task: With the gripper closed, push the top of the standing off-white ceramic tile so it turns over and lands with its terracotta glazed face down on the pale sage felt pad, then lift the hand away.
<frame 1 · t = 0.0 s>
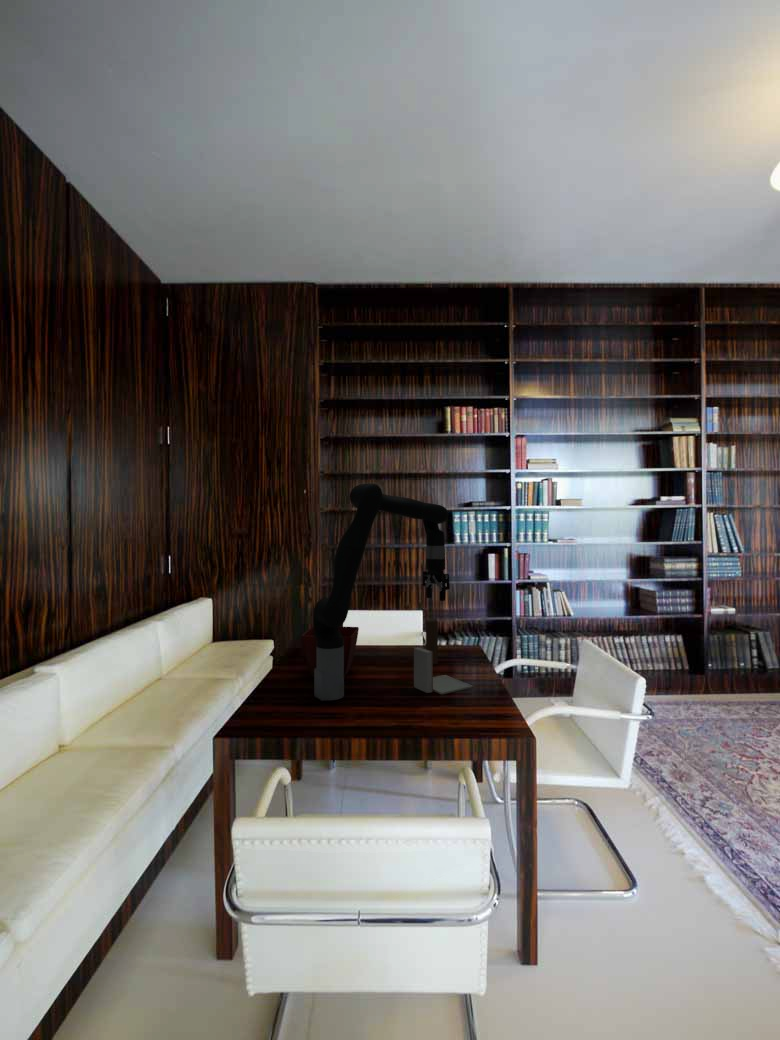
hand: (435, 599, 205), 29 cm above the table, tool pointing down, fingers open, 8 cm apart
felt pad: (443, 685, 193), on the table
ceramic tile: (423, 689, 189), on the table
plant pot: (331, 674, 208), on the table
wooden block: (426, 663, 223), on the table
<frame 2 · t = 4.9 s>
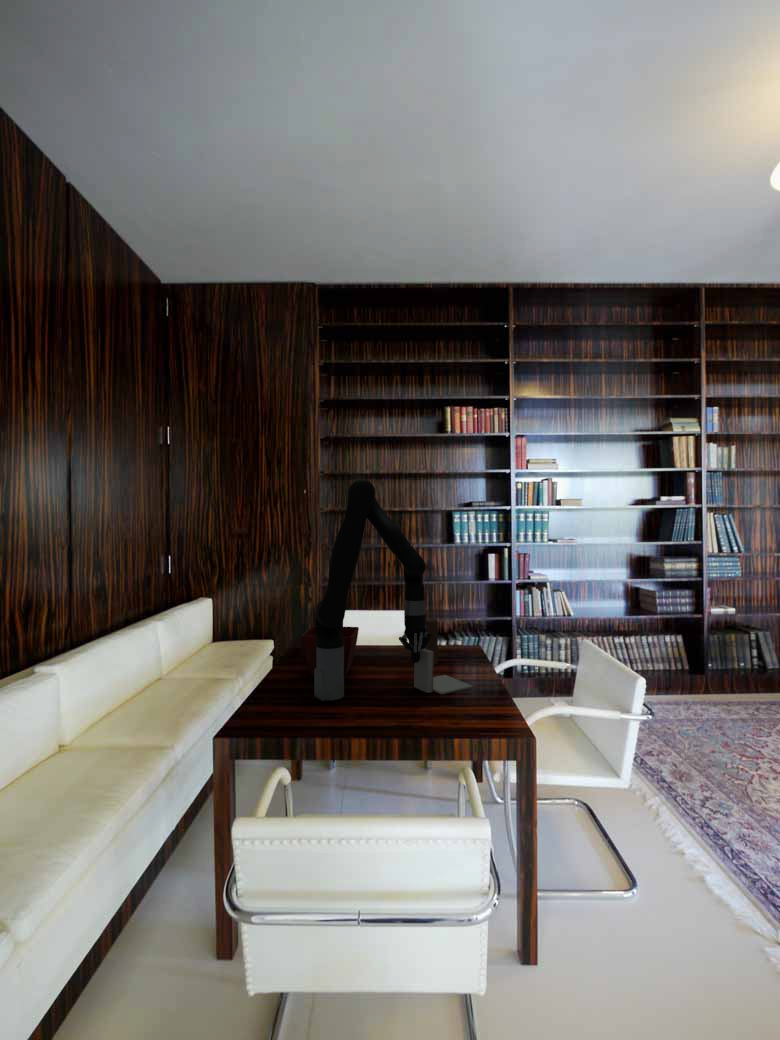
hand: (415, 662, 187), 10 cm above the table, tool pointing down, fingers closed
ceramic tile: (423, 689, 189), on the table, touching gripper
everything else where it was.
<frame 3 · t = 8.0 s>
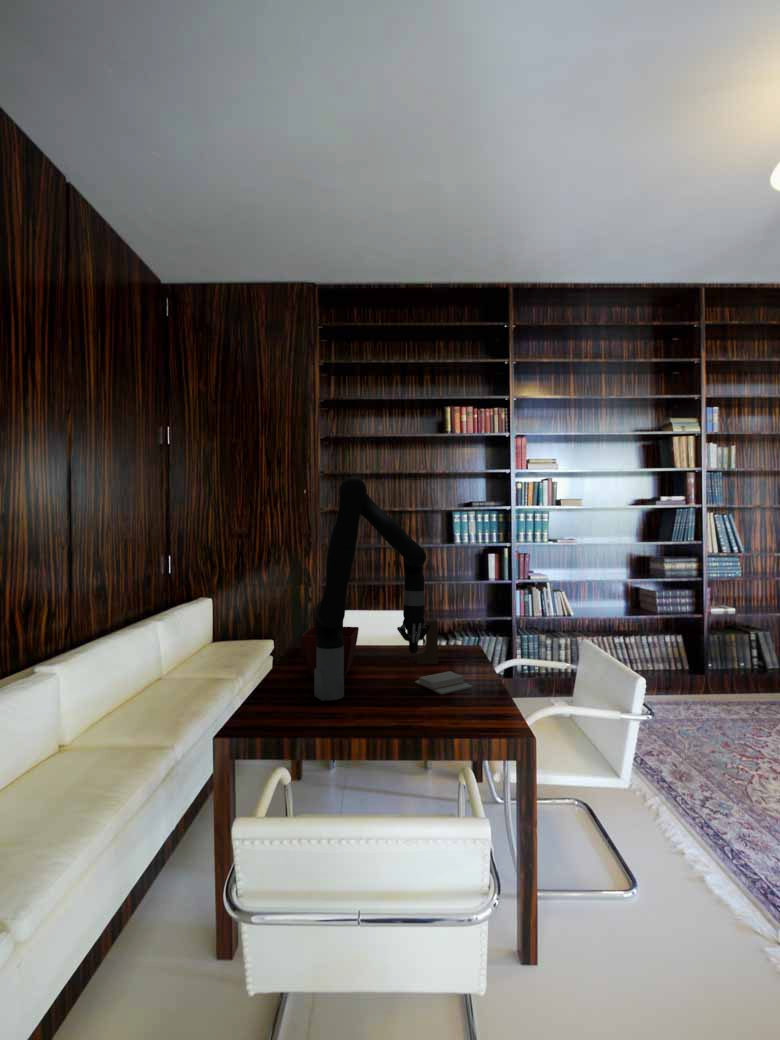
hand: (413, 652, 186), 14 cm above the table, tool pointing down, fingers closed
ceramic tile: (425, 683, 189), point 2 cm above the table, tilted 90°, touching felt pad
everything else where it was.
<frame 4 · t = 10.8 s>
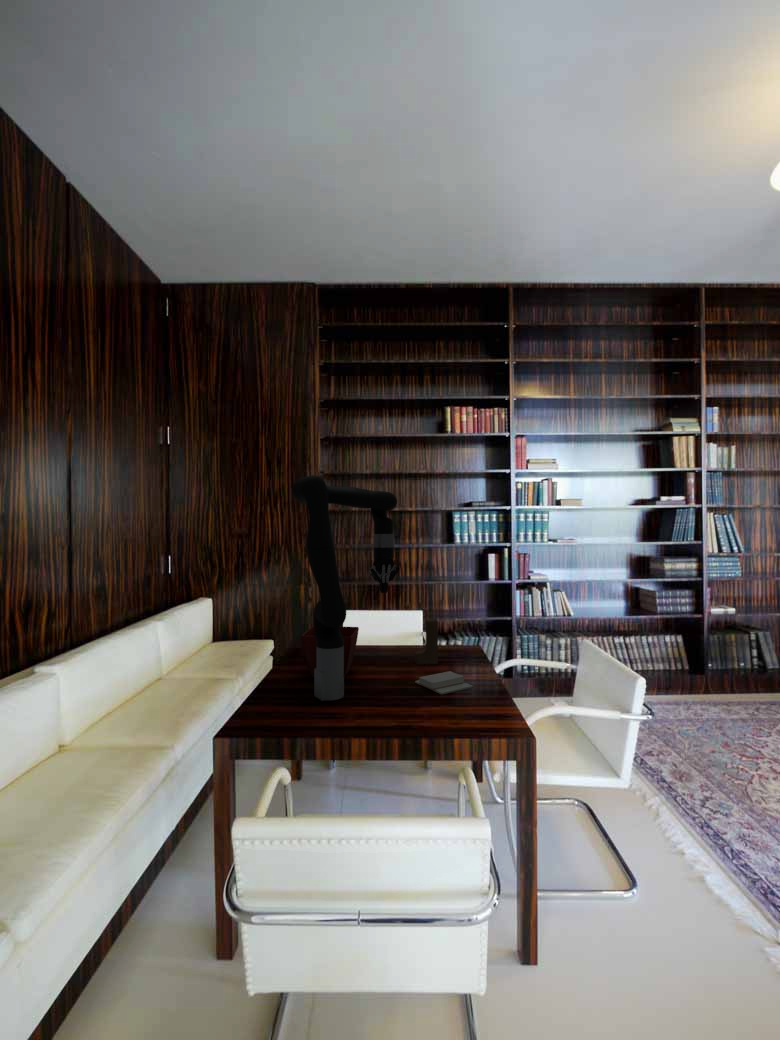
hand: (383, 592, 197), 33 cm above the table, tool pointing down, fingers closed
nothing on the table moved.
at the end: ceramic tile tilted 90°; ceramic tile touching felt pad; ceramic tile inside the target area (0.9 cm from its centre), point 1.8 cm above the table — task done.
